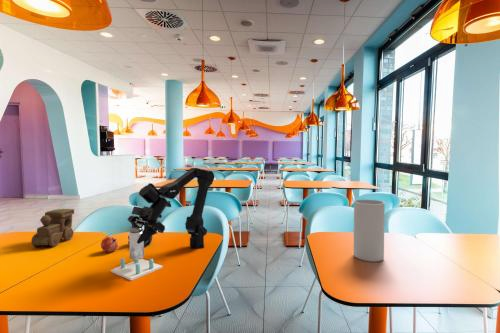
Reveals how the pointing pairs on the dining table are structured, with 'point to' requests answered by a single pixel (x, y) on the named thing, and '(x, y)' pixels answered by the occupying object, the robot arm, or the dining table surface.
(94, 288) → the dining table surface
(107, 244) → the pomegranate
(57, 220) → the wooden toy train
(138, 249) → the shaker
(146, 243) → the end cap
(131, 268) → the tray
